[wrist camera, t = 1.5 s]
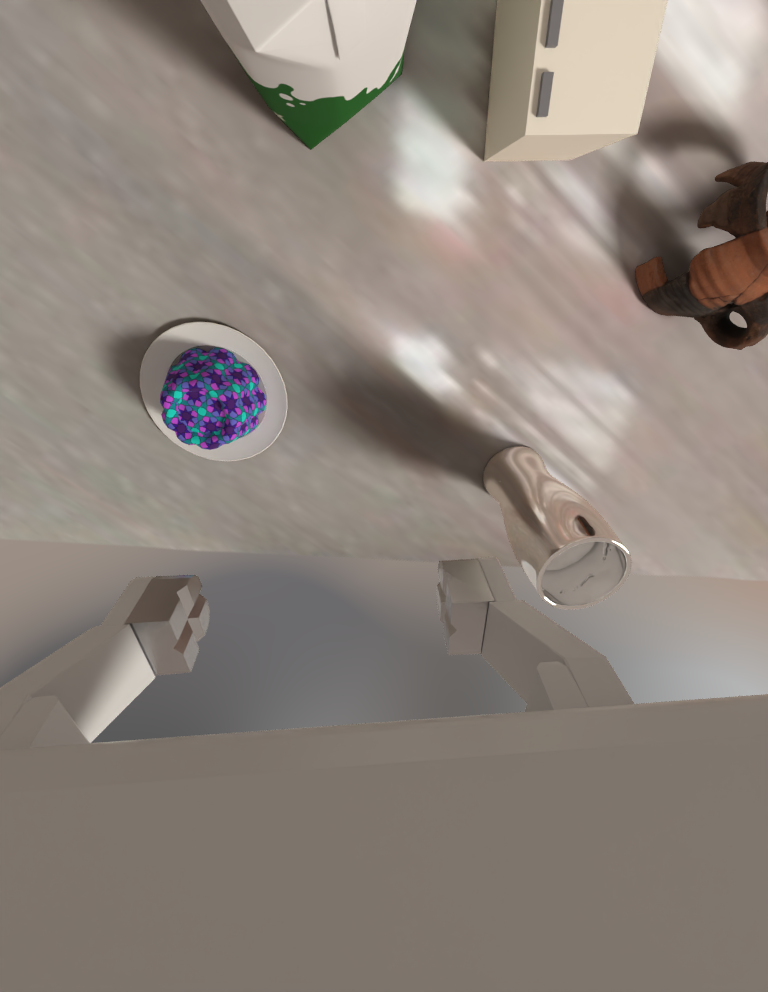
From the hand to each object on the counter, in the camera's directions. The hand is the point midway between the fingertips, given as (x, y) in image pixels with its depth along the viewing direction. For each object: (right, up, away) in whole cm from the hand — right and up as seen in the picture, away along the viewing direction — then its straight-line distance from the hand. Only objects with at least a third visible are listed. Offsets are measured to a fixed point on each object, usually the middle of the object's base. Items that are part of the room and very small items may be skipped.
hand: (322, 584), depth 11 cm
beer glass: (+14, +5, +30) cm, 34 cm away
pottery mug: (+26, +21, +22) cm, 40 cm away
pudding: (-13, +11, +25) cm, 30 cm away
